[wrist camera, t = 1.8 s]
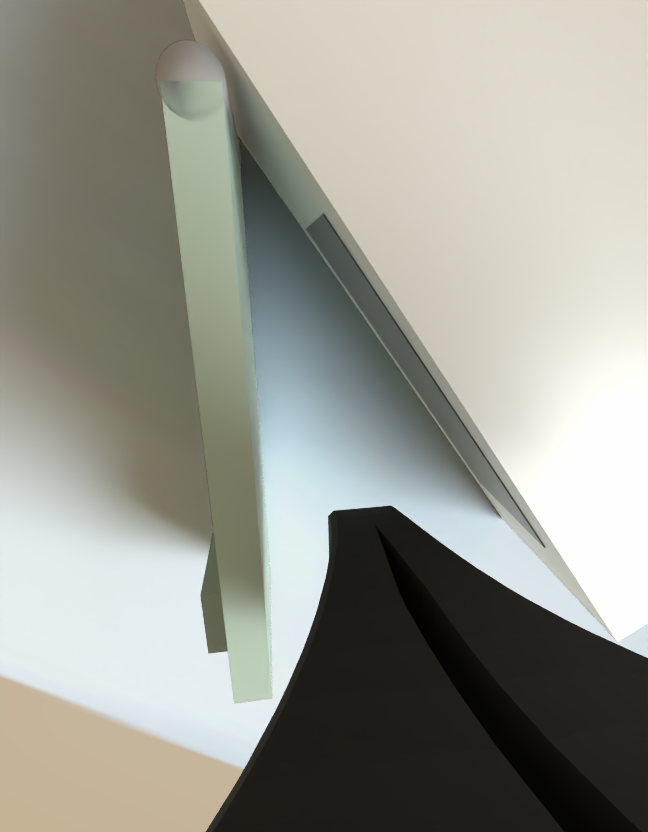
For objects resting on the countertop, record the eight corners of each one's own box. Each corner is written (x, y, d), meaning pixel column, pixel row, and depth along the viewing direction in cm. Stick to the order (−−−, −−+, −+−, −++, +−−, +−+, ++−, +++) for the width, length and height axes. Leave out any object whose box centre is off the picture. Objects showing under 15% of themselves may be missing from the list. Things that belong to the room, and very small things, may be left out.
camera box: (568, -332, 8) (1066, -1311, 3) (780, 330, 14) (1106, 373, 8) (161, 27, 9) (32, -273, 4) (502, 520, 15) (637, 665, 9)
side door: (240, 134, 10) (222, 40, 6) (271, 566, 14) (274, 698, 10) (172, 133, 10) (105, 37, 6) (223, 571, 13) (204, 707, 9)
